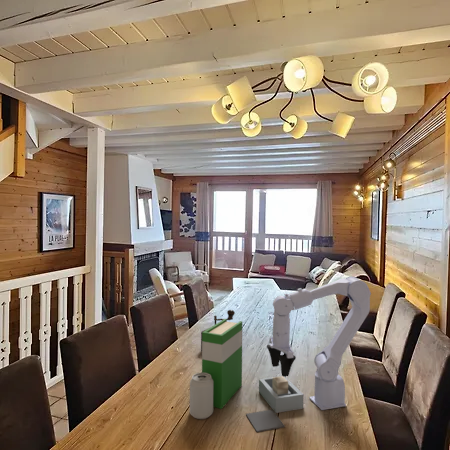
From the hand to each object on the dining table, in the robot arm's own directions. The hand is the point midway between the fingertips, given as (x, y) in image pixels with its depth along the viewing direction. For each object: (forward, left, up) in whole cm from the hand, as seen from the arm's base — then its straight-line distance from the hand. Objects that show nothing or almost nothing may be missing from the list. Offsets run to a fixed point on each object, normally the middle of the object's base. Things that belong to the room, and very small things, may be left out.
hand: (280, 370), depth 114 cm
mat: (+10, +10, -10) cm, 17 cm away
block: (0, 0, -7) cm, 7 cm away
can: (+28, +1, -10) cm, 30 cm away
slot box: (0, 0, -10) cm, 10 cm away
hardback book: (+18, -9, -10) cm, 23 cm away
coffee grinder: (+8, -51, -10) cm, 53 cm away
